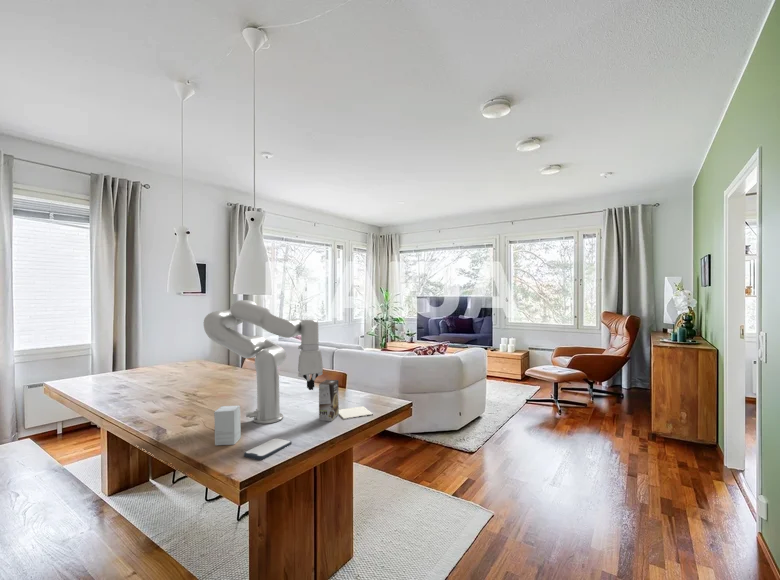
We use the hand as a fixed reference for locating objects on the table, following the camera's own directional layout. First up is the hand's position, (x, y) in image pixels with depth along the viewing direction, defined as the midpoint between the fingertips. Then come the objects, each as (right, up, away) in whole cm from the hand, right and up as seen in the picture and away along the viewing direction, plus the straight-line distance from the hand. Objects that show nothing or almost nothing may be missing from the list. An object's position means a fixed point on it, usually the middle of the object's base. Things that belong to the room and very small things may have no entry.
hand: (310, 389), depth 167 cm
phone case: (-8, -14, -31) cm, 35 cm away
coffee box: (+8, -14, +3) cm, 16 cm away
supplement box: (-26, -14, -23) cm, 38 cm away
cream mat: (+18, -14, +9) cm, 24 cm away
